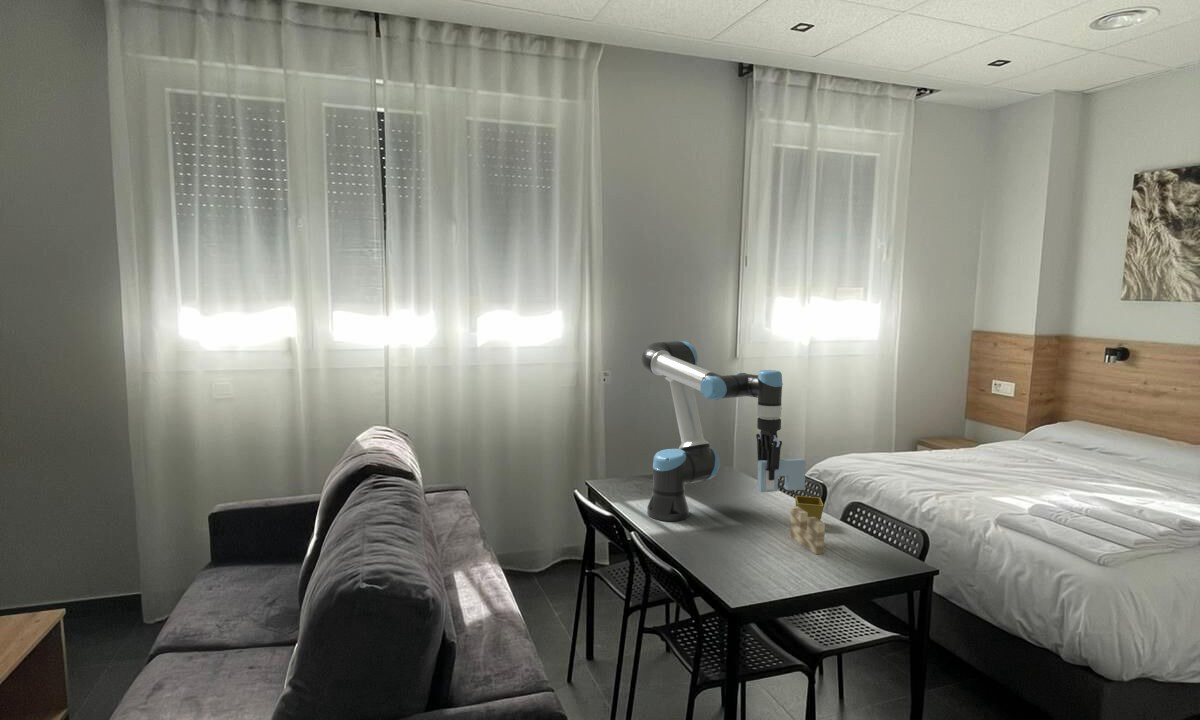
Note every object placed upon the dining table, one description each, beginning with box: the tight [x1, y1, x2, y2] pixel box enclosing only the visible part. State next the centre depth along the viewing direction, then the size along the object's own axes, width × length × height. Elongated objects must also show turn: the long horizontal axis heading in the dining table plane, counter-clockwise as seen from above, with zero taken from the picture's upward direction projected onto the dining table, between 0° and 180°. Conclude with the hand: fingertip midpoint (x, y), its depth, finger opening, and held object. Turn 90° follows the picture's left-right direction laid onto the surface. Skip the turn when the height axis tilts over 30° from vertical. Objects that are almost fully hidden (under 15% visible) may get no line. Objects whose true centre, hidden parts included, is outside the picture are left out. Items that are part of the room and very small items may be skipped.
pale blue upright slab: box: [756, 457, 807, 493], centre depth 216 cm, size 16×2×10 cm, turn 103°
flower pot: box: [795, 495, 824, 521], centre depth 230 cm, size 9×9×9 cm
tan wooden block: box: [789, 506, 826, 555], centre depth 212 cm, size 16×2×10 cm, turn 14°
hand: (767, 487), depth 215 cm, fingers closed on pale blue upright slab, 2 cm apart
